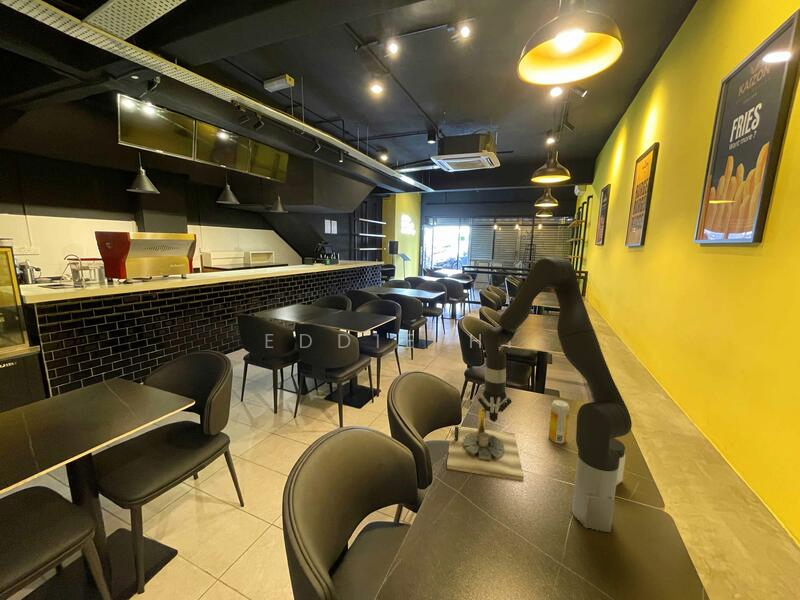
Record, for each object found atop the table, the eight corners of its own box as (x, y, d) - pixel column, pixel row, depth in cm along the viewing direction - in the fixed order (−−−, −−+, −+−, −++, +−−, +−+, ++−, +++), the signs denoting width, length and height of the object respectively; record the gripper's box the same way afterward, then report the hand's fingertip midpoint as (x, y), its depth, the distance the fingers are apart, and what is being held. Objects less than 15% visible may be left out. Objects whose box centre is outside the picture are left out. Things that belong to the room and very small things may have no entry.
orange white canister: (562, 435, 124) (565, 399, 121) (568, 445, 118) (572, 407, 115) (546, 434, 125) (549, 398, 122) (552, 443, 119) (555, 406, 116)
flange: (506, 462, 106) (508, 437, 104) (463, 457, 108) (464, 432, 107) (499, 431, 123) (500, 409, 122) (463, 427, 126) (463, 406, 124)
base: (523, 480, 100) (524, 462, 99) (446, 468, 105) (447, 450, 104) (514, 436, 123) (515, 421, 122) (451, 428, 128) (452, 413, 127)
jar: (589, 479, 100) (593, 445, 98) (588, 464, 107) (592, 432, 105) (623, 490, 96) (628, 454, 94) (620, 473, 103) (625, 440, 101)
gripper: (478, 381, 116) (477, 425, 119) (515, 383, 115) (513, 427, 118) (476, 373, 123) (474, 414, 126) (511, 374, 122) (508, 416, 125)
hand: (493, 420), depth 122 cm, fingers closed
